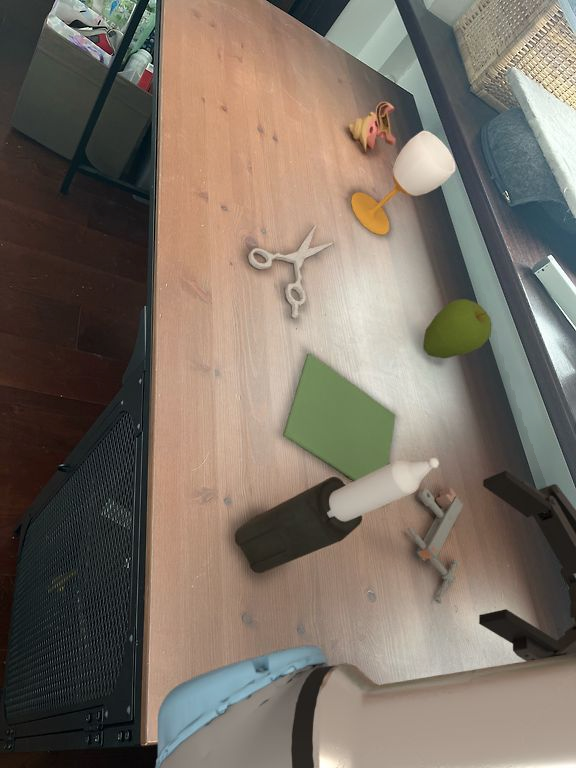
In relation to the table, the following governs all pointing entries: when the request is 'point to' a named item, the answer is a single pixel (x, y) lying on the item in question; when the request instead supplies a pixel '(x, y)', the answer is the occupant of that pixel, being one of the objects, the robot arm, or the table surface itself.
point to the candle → (325, 514)
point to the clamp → (438, 532)
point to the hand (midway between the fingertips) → (493, 541)
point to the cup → (408, 178)
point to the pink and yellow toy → (374, 126)
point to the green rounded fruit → (457, 329)
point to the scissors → (297, 260)
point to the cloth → (339, 422)
